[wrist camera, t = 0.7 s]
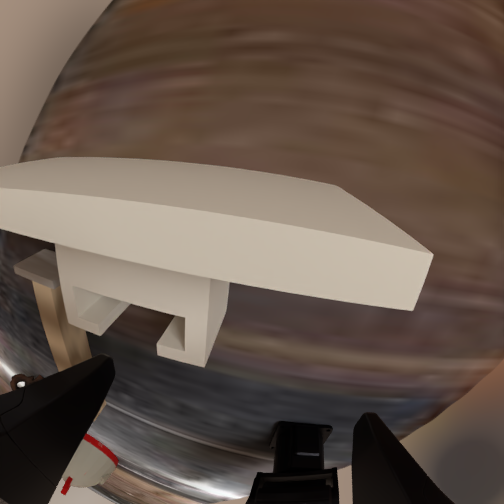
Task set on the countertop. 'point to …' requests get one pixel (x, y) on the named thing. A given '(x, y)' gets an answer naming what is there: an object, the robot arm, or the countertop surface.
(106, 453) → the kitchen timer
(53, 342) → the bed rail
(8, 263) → the countertop surface
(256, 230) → the white angular piece
